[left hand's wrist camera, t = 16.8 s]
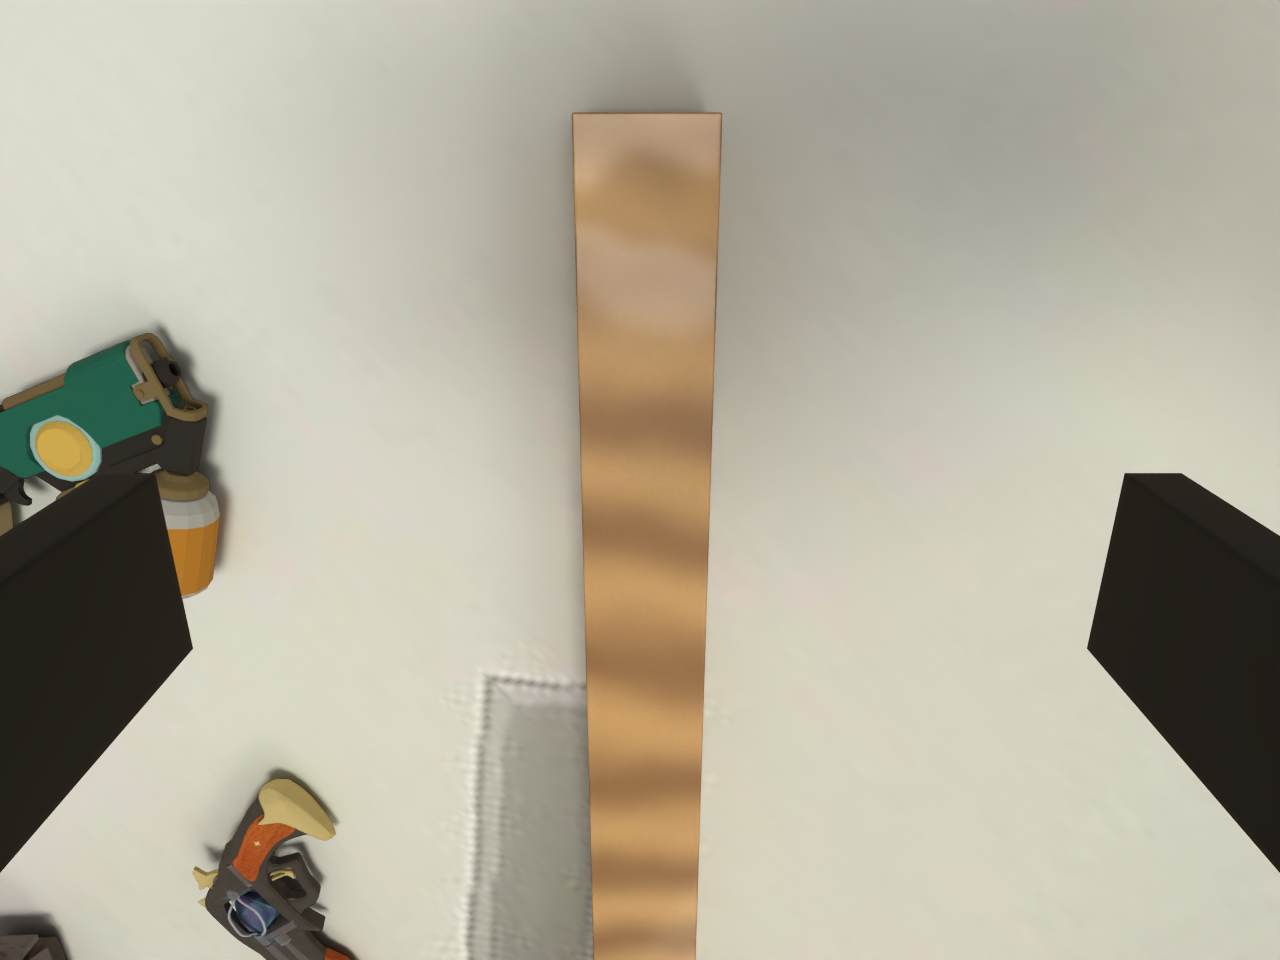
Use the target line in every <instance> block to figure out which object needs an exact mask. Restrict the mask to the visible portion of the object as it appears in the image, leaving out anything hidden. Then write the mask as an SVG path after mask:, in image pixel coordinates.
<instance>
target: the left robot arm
mask: <svg viewBox="0 0 1280 960" xmlns="http://www.w3.org/2000/svg"><path fill="white" fill-rule="evenodd" d="M192 649H193V647H192V642H191V637H190V633H189V628H188V623H187V619H186V614H185V609H184V605H183V600H182V595H181V591H180V586H179V582H178V577H177V572H176V568H175V563H174V558H173V554H172V549H171V544H170V540H169V535H168V530H167V526H166V521H165V516H164V512H163V507H162V503H161V498H160V493H159V489H158V484H157V479H156V475H155V473H98V474H97V475H95V476H94V477H92V478H91V479H89V480H87V481H86V482H84V483H83V484H81V485H80V486H78V487H76V488H75V489H73V490H72V491H70V492H69V493H67V494H65V495H64V496H62V497H61V498H59V499H58V500H56V501H54V502H53V503H51V504H50V505H48V506H47V507H45V508H43V509H42V510H40V511H39V512H37V513H36V514H34V515H32V516H31V517H29V518H28V519H26V520H25V521H23V522H21V523H20V524H18V525H17V526H15V527H14V528H12V529H10V530H9V531H7V532H6V533H4V534H3V535H1V536H0V872H1V871H2V870H3V869H4V868H5V866H6V865H7V864H8V863H9V862H10V861H11V860H12V858H13V857H14V856H15V855H16V854H17V853H18V851H19V850H20V849H21V848H22V847H23V846H24V844H25V843H26V842H27V841H28V840H29V839H30V837H31V836H32V835H33V834H34V833H35V832H36V830H37V829H38V828H39V827H40V826H41V825H42V823H43V822H44V821H45V820H46V819H47V818H48V816H49V815H50V814H51V813H52V812H53V811H54V809H55V808H56V807H57V806H58V805H59V804H60V803H61V801H62V800H63V799H64V798H65V797H66V796H67V794H68V793H69V792H70V791H71V790H72V789H73V787H74V786H75V785H76V784H77V783H78V782H79V780H80V779H81V778H82V777H83V776H84V775H85V773H86V772H87V771H88V770H89V769H90V768H91V766H92V765H93V764H94V763H95V762H96V761H97V759H98V758H99V757H100V756H101V755H102V754H103V753H104V751H105V750H106V749H107V748H108V747H109V746H110V744H111V743H112V742H113V741H114V740H115V739H116V737H117V736H118V735H119V734H120V733H121V732H122V730H123V729H124V728H125V727H126V726H127V725H128V723H129V722H130V721H131V720H132V719H133V718H134V716H135V715H136V714H137V713H138V712H139V711H140V709H141V708H142V707H143V706H144V705H145V704H146V703H147V701H148V700H149V699H150V698H151V697H152V696H153V694H154V693H155V692H156V691H157V690H158V689H159V687H160V686H161V685H162V684H163V683H164V682H165V680H166V679H167V678H168V677H169V676H170V675H171V673H172V672H173V671H174V670H175V669H176V668H177V666H178V665H179V664H180V663H181V662H182V661H183V659H184V658H185V657H186V656H187V655H188V654H189V653H190V651H191V650H192ZM1087 649H1088V650H1089V651H1090V653H1091V654H1092V655H1093V656H1094V657H1095V658H1096V659H1097V661H1098V662H1099V663H1100V664H1101V665H1102V666H1103V668H1104V669H1105V670H1106V671H1107V672H1108V673H1109V675H1110V676H1111V677H1112V678H1113V679H1114V680H1115V682H1116V683H1117V684H1118V685H1119V686H1120V687H1121V689H1122V690H1123V691H1124V692H1125V693H1126V694H1127V696H1128V697H1129V698H1130V699H1131V700H1132V701H1133V703H1134V704H1135V705H1136V706H1137V707H1138V708H1139V709H1140V711H1141V712H1142V713H1143V714H1144V715H1145V716H1146V718H1147V719H1148V720H1149V721H1150V722H1151V723H1152V725H1153V726H1154V727H1155V728H1156V729H1157V730H1158V732H1159V733H1160V734H1161V735H1162V736H1163V737H1164V739H1165V740H1166V741H1167V742H1168V743H1169V744H1170V746H1171V747H1172V748H1173V749H1174V750H1175V751H1176V753H1177V754H1178V755H1179V756H1180V757H1181V758H1182V759H1183V761H1184V762H1185V763H1186V764H1187V765H1188V766H1189V768H1190V769H1191V770H1192V771H1193V772H1194V773H1195V775H1196V776H1197V777H1198V778H1199V779H1200V780H1201V782H1202V783H1203V784H1204V785H1205V786H1206V787H1207V789H1208V790H1209V791H1210V792H1211V793H1212V794H1213V796H1214V797H1215V798H1216V799H1217V800H1218V801H1219V803H1220V804H1221V805H1222V806H1223V807H1224V808H1225V809H1226V811H1227V812H1228V813H1229V814H1230V815H1231V816H1232V818H1233V819H1234V820H1235V821H1236V822H1237V823H1238V825H1239V826H1240V827H1241V828H1242V829H1243V830H1244V832H1245V833H1246V834H1247V835H1248V836H1249V837H1250V839H1251V840H1252V841H1253V842H1254V843H1255V844H1256V846H1257V847H1258V848H1259V849H1260V850H1261V851H1262V853H1263V854H1264V855H1265V856H1266V857H1267V858H1268V860H1269V861H1270V862H1271V863H1272V864H1273V865H1274V866H1275V868H1276V869H1277V870H1278V871H1279V872H1280V536H1279V535H1277V534H1276V533H1274V532H1273V531H1271V530H1270V529H1268V528H1266V527H1265V526H1263V525H1262V524H1260V523H1259V522H1257V521H1255V520H1254V519H1252V518H1251V517H1249V516H1248V515H1246V514H1244V513H1243V512H1241V511H1240V510H1238V509H1237V508H1235V507H1233V506H1232V505H1230V504H1229V503H1227V502H1226V501H1224V500H1222V499H1221V498H1219V497H1218V496H1216V495H1215V494H1213V493H1211V492H1210V491H1208V490H1207V489H1205V488H1204V487H1202V486H1200V485H1199V484H1197V483H1196V482H1194V481H1193V480H1191V479H1189V478H1188V477H1186V476H1185V475H1183V474H1182V473H1125V475H1124V479H1123V484H1122V489H1121V493H1120V498H1119V502H1118V507H1117V512H1116V516H1115V521H1114V526H1113V530H1112V535H1111V540H1110V544H1109V549H1108V554H1107V558H1106V563H1105V568H1104V572H1103V577H1102V582H1101V586H1100V591H1099V595H1098V600H1097V605H1096V609H1095V614H1094V619H1093V623H1092V628H1091V633H1090V637H1089V642H1088V647H1087Z"/></svg>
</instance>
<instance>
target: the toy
mask: <svg viewBox="0 0 1280 960" xmlns="http://www.w3.org/2000/svg"><path fill="white" fill-rule="evenodd" d="M0 960H66V958H65V955H64V952H63V950H62V947H61V944H60V942H59V939H58V938H56V937H40V938H39V937H38V935H1V936H0Z"/></svg>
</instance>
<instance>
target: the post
mask: <svg viewBox="0 0 1280 960" xmlns="http://www.w3.org/2000/svg"><path fill="white" fill-rule="evenodd" d="M721 134H722V113H572V139H573V177H574V216H575V254H576V293H577V331H578V370H579V409H580V447H581V486H582V524H583V563H584V601H585V640H586V679H587V717H588V756H589V794H590V833H591V871H592V910H593V949H594V960H695V955H696V924H697V892H698V860H699V829H700V797H701V766H702V734H703V702H704V671H705V639H706V608H707V576H708V544H709V513H710V481H711V450H712V418H713V387H714V355H715V323H716V292H717V260H718V229H719V197H720V165H721Z"/></svg>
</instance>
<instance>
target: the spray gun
mask: <svg viewBox="0 0 1280 960" xmlns="http://www.w3.org/2000/svg"><path fill="white" fill-rule="evenodd" d="M142 341H147V342H149V343H150V344H151V345H152V346H153V348H154V349H155V351H156V353H157V355H158V357H159V358H160V360H158V361H156V362H153V361H152V359H151V357H150V355H149V353H148V352H147V350H146V349H145V348H144V347H142V346H141V342H142ZM180 376H181V371H180V368H179V367H178V365H177V364H176V363H175V362H173V361H171V359H170V357H169V355H168V353H167V351H166V350H165V348H164V346H163V344H162V342H161V341H160V340H159V339H158V337H157V336H155V335H154V334H151V333H146V334H143V335H140V336H138V337H135V338H133V339H132V340H131V341H125V342H123V343H120V344H118V345H115V346H113V347H111V348H108V349H106V350H103V351H101V352H99V353H96V354H94V355H91V356H89V357H87V358H84V359H82V360H79V361H77V362H74V363H73V364H71V365H70V367H69V368H68V369H67V371H66V374H63V375H61V376H58V377H56V378H54V379H51V380H49V381H46V382H44V383H42V384H39V385H37V386H34V387H32V388H30V389H27V390H25V391H22V392H20V393H17V394H15V395H13V396H10V397H8V398H6V399H4V400H3V404H2V405H0V536H1V535H3V534H4V533H6V532H7V531H9V530H10V529H12V528H13V520H12V507H11V504H10V502H9V501H10V500H11V501H13V502H16V503H18V504H21V505H27V506H29V505H31V504H32V499H31V498H30V497H28V496H27V495H26V493H25V492H24V489H23V486H24V478H28V477H30V476H33V475H36V476H37V477H39V478H41V479H42V480H44V481H45V482H47V483H48V484H50V485H52V486H53V487H55V488H56V489H58V490H60V491H61V493H60V494H59V495H58V496H57V498H56V500H58V499H59V498H61V497H62V496H64V495H65V494H67V493H69V492H70V491H72V490H73V489H75V488H76V487H78V486H80V485H81V484H83V483H84V482H86V481H87V480H89V479H91V478H92V477H94V476H95V475H97V474H98V473H135V472H137V471H139V470H142V469H144V468H147V467H150V466H152V465H155V464H159V466H160V467H161V468H162V469H158V470H156V471H153V472H152V473H155V475H156V479H157V484H158V489H159V493H160V498H161V503H162V507H163V512H164V516H165V521H166V526H167V530H168V535H169V540H170V544H171V549H172V554H173V558H174V563H175V568H176V572H177V577H178V582H179V586H180V591H181V595H182V599H184V598H188V597H191V596H194V595H196V594H198V593H200V592H202V591H203V590H205V589H207V587H208V585H209V584H210V582H211V581H212V579H213V573H214V564H215V556H216V547H217V538H218V529H219V521H220V512H219V507H218V502H217V498H216V496H215V495H214V494H212V493H211V492H210V491H209V480H208V478H207V477H205V476H204V475H203V474H202V473H199V472H197V471H196V469H197V467H198V465H199V461H200V455H201V449H202V444H203V438H204V432H205V427H206V421H207V418H206V415H207V410H208V406H207V405H206V404H204V403H202V402H200V401H196V400H193V399H192V397H191V395H190V393H189V391H188V390H187V388H186V386H185V384H184V382H183V381H182V379H181V377H180ZM174 388H176V389H177V390H178V392H179V394H180V396H181V398H182V399H183V401H184V403H185V405H186V406H185V407H183V410H181V409H178V408H176V406H177V403H178V396H177V394H175V393H170V392H169V390H172V389H174ZM196 409H197V410H196Z"/></svg>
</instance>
